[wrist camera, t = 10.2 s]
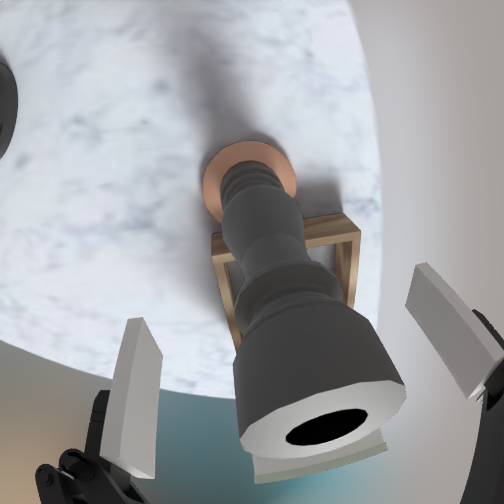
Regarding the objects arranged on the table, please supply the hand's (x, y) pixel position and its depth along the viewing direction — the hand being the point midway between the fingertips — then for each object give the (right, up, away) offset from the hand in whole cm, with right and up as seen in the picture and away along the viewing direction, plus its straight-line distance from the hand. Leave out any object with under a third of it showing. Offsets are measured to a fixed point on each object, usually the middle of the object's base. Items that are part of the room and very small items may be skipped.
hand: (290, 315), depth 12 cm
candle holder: (-2, +10, +17) cm, 19 cm away
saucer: (-2, +10, +18) cm, 20 cm away
